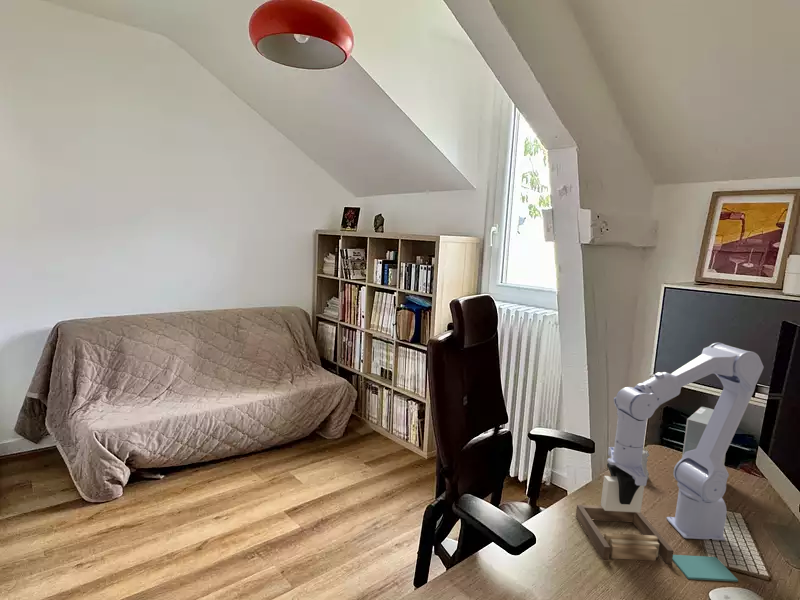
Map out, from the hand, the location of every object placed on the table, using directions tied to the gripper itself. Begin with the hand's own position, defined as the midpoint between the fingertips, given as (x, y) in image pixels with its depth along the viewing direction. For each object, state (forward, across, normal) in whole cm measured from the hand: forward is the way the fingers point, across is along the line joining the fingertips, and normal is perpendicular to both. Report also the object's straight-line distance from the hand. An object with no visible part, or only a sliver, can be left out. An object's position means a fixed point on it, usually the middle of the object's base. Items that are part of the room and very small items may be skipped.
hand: (621, 499), depth 111 cm
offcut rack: (+8, 0, 0) cm, 8 cm away
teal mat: (+8, +10, +13) cm, 19 cm away
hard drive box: (+9, -26, +35) cm, 45 cm away
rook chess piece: (+9, -28, +19) cm, 35 cm away
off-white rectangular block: (+2, 0, 0) cm, 2 cm away
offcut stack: (+8, +7, 0) cm, 11 cm away
